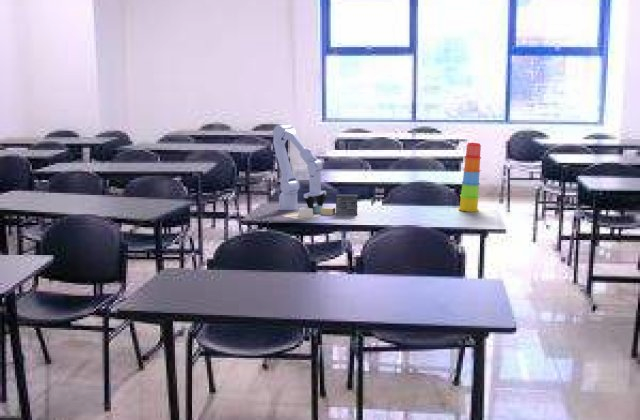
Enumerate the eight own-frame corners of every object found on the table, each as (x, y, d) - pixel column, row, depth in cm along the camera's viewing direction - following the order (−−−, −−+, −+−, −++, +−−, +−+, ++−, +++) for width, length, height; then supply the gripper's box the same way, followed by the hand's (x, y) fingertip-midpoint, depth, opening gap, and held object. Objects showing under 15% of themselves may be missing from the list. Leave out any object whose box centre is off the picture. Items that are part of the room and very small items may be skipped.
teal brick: (308, 213, 372) (308, 205, 371) (313, 212, 375) (313, 204, 374) (317, 214, 368) (316, 206, 368) (322, 213, 371) (322, 205, 370)
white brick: (298, 216, 360) (298, 208, 359) (304, 215, 363) (304, 207, 362) (307, 217, 356) (307, 209, 355) (312, 216, 359) (312, 208, 358)
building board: (279, 217, 362) (279, 215, 362) (300, 212, 372) (299, 211, 372) (302, 221, 351) (302, 220, 351) (322, 217, 361) (322, 215, 361)
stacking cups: (471, 207, 384) (474, 141, 377) (482, 211, 375) (485, 143, 368) (454, 209, 381) (456, 142, 374) (465, 212, 371) (467, 144, 364)
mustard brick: (321, 216, 365) (321, 208, 364) (324, 214, 369) (324, 206, 368) (332, 217, 363) (332, 209, 362) (335, 215, 366) (335, 207, 366)
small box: (357, 214, 368) (357, 194, 366) (356, 217, 361) (357, 196, 359) (336, 214, 369) (336, 193, 367) (335, 216, 363) (335, 196, 360)
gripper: (310, 186, 361) (310, 213, 364) (330, 183, 371) (330, 209, 374) (300, 184, 366) (300, 211, 368) (320, 181, 376) (320, 207, 379)
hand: (315, 210), depth 371 cm, fingers open, 6 cm apart
